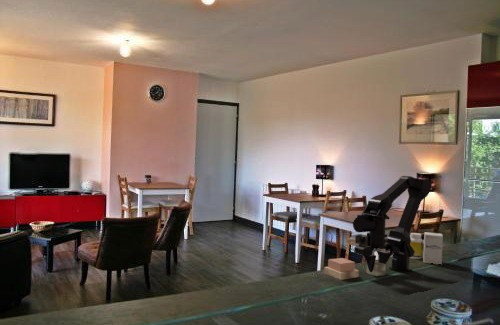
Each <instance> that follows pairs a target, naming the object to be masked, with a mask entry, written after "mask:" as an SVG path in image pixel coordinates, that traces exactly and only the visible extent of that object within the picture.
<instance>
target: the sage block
mask: <svg viewBox="0 0 500 325" xmlns="http://www.w3.org/2000/svg"><path fill="white" fill-rule="evenodd" d="M386 266H387V263H386V264H383V263H380V262H379V261H376V260H375V264H374V268H373V271H372V272H370V271H369V268H368V265H367V264H366V270H365V271H366V272H365V273H366V274H369V275H371V276H374V277H380V276H385V275H386V270H387V269H386Z"/></svg>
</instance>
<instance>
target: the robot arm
mask: <svg viewBox="0 0 500 325" xmlns="http://www.w3.org/2000/svg"><path fill="white" fill-rule="evenodd" d="M431 189H432V183H431V182H430V180H429V179H427V178H416V177H413V176H411V175H410V176H409V175H401V176H400V177H399V178H398V180H397V181H395V183H393V184H392V185H391V186H390V187H388V188H387V189H386V190H385V191H384V192H382V193H379V194H378V195H375V196H373V197H372V198H370V199H369V200H368V202H367V204H366V206H365V207H364V209H363V212H362V213H358V214H357V215H356V217H355V218H354V219H353V221H352V227H353V229H354V232H356V233H358V234H357V235H355V238H354V239H355V240H354V241H355V244H357V245H355V246H354V248H353V253H354V254H357V255H359V256H363V257H364V259H365V261H366V266H367V265H368V268H369V271H370V272H372V271H373V268H374V264H375V261H376V258H377V255H378V262H380V263H383V264H386V265H387V263H388V261H389V260H390V258H391V256H392V258H391V266H389V267H388V269H389V270H392V271H396V272H400V273H405V272H410V271H413V269H412V268H410V258H409V257H412V256H414V252H415V251H414V250H413V248H412V247H411V245H410V243H411V236H410V234H411V229H412V226H413V225H414V221H415V219H416V217H417V214H418V211H419V208H420V207H421V206H420V205H421V203H422V201H423V200H424V199H425V198H427V197H428V196H429V193H430V192H431ZM405 191H407V194H408V198H407V201H406V204H405V206H404V209H403V212H402V214H401V216H400V220H399V222H398V225H397V227H396V228H395V229H394V230H393V229H390V230H389V232H388V234H387V233H386V220H390V216H389V215H388V214H387V213H388V212H389V211H390V209H392V207H393V203H394V201H396V199H398V198H399V197H401V195H402V194H403V193H405ZM359 233H366V236H363V235H362V234H359ZM385 240H387V241H385ZM375 252H376V253H377V255H375Z"/></svg>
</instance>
